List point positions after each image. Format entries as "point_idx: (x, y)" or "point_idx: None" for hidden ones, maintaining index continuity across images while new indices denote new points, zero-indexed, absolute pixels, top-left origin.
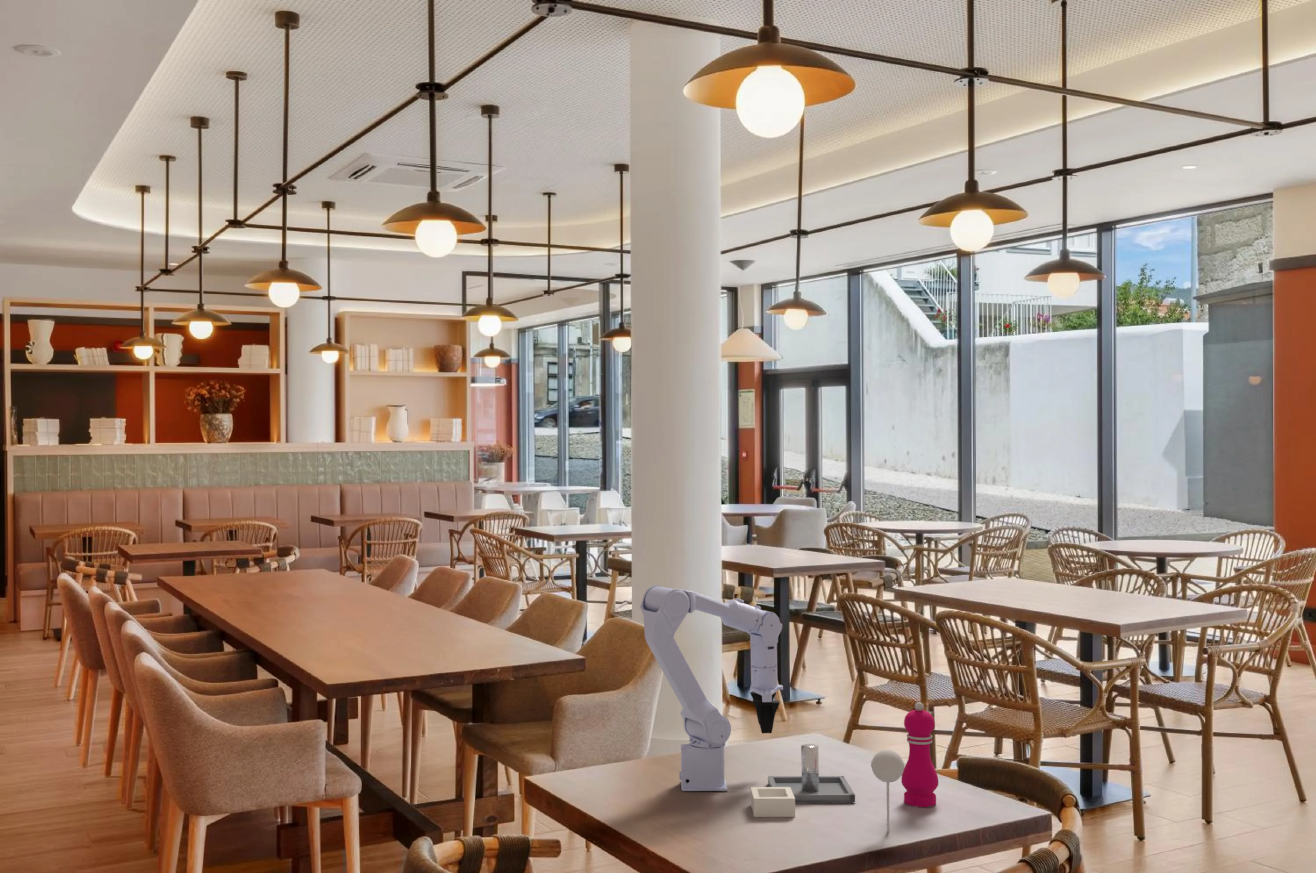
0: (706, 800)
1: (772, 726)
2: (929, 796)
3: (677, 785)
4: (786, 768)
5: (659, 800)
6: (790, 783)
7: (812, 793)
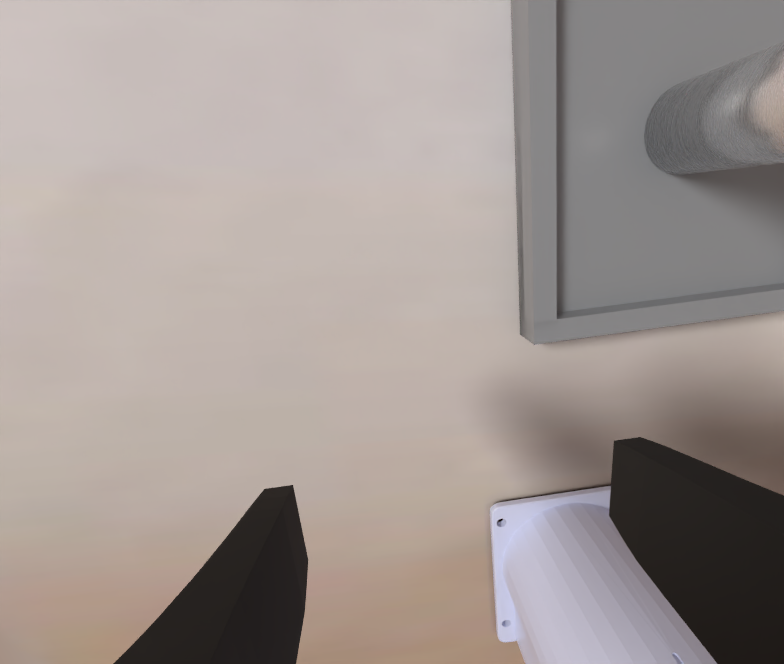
0: None
1: (705, 465)
2: None
3: None
4: (230, 253)
5: None
6: (568, 231)
7: None
